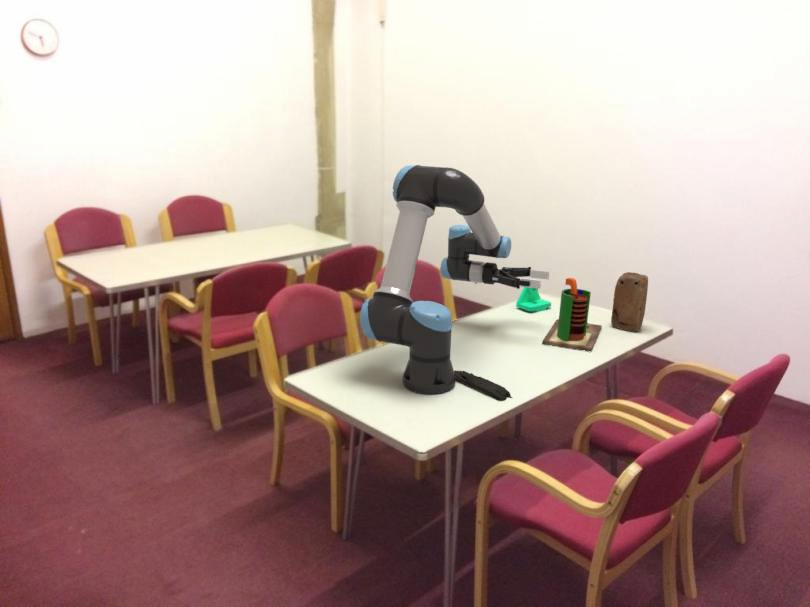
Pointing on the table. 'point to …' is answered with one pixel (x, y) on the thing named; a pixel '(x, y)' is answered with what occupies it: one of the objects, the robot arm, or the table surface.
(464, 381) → the wood
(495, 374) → the table surface
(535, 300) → the camera mount
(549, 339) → the mounting board
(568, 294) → the motor
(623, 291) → the block
